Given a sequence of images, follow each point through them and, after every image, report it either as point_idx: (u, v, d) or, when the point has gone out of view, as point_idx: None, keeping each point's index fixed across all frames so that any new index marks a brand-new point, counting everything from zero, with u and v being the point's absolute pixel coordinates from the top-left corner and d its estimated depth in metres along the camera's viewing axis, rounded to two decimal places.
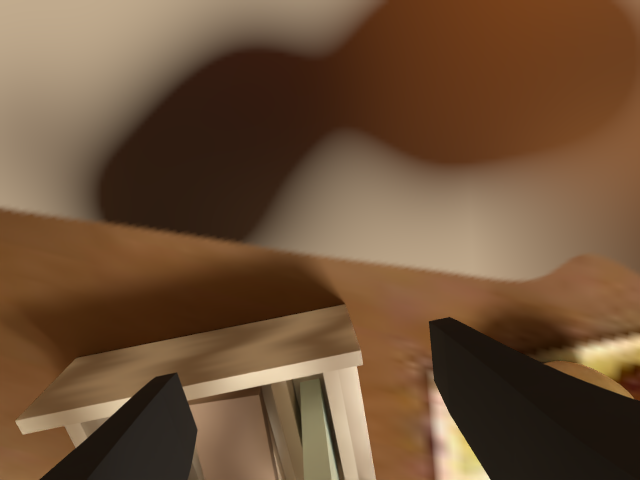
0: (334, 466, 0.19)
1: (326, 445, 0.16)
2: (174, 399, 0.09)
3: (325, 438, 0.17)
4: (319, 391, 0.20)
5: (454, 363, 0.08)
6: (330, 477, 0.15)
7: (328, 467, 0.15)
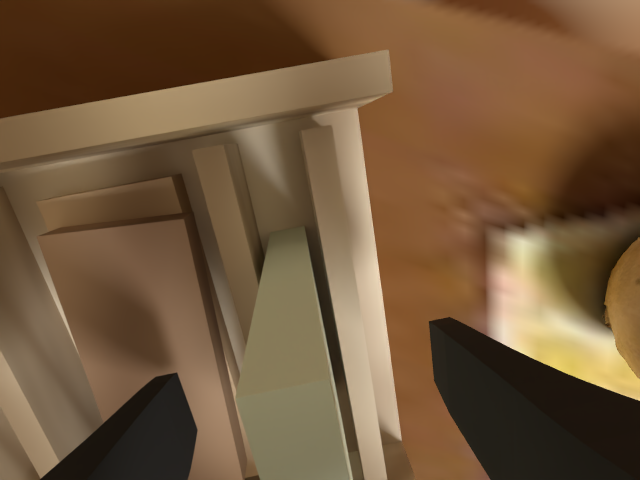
0: None
1: (311, 280, 0.07)
2: (174, 399, 0.09)
3: (309, 272, 0.08)
4: (303, 234, 0.11)
5: (454, 363, 0.08)
6: (317, 317, 0.06)
7: (313, 304, 0.06)
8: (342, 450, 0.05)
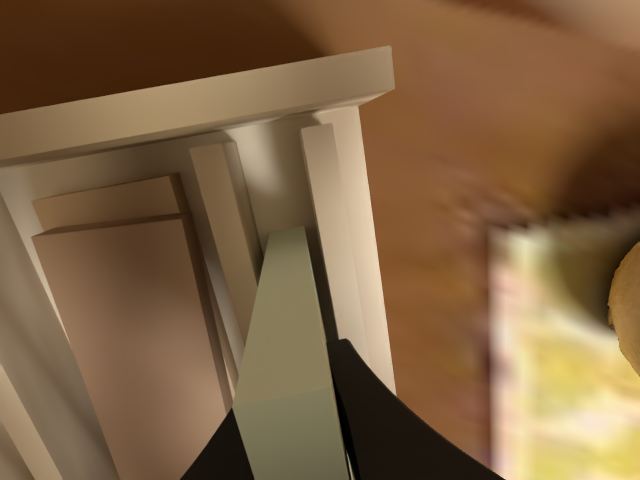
0: None
1: (311, 281, 0.07)
2: None
3: (309, 274, 0.08)
4: (303, 234, 0.11)
5: (334, 388, 0.08)
6: (317, 321, 0.06)
7: (313, 306, 0.06)
8: (343, 460, 0.04)
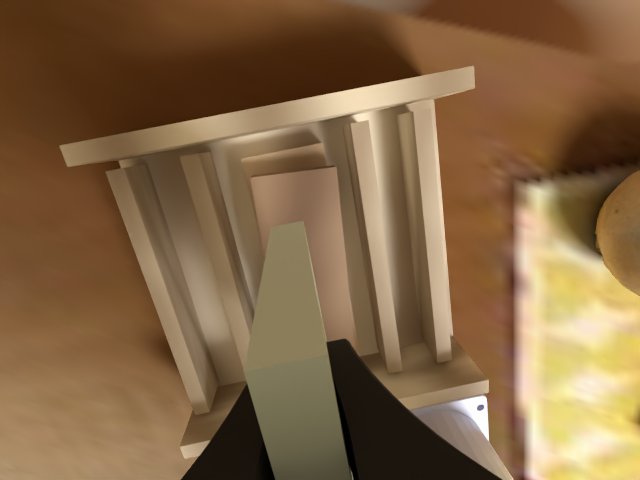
0: None
1: (310, 270, 0.08)
2: None
3: (308, 264, 0.08)
4: (302, 229, 0.11)
5: None
6: (315, 303, 0.06)
7: (312, 291, 0.07)
8: (338, 418, 0.05)
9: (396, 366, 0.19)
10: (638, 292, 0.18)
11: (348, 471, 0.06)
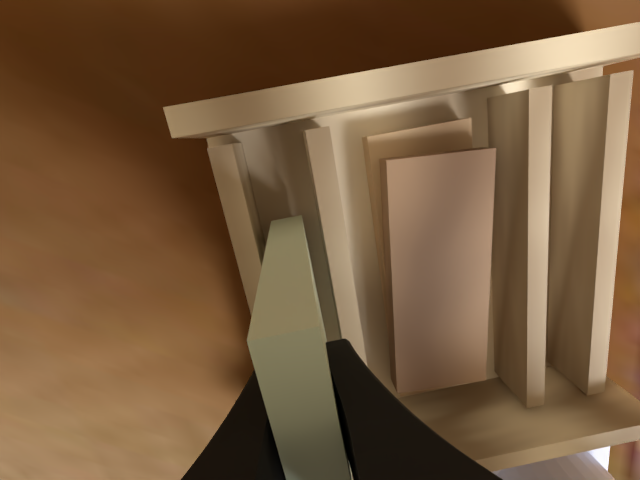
0: None
1: (306, 258, 0.09)
2: None
3: (305, 253, 0.09)
4: (300, 222, 0.12)
5: None
6: (311, 286, 0.07)
7: (308, 276, 0.08)
8: (330, 384, 0.06)
9: (537, 399, 0.15)
10: None
11: (340, 433, 0.06)
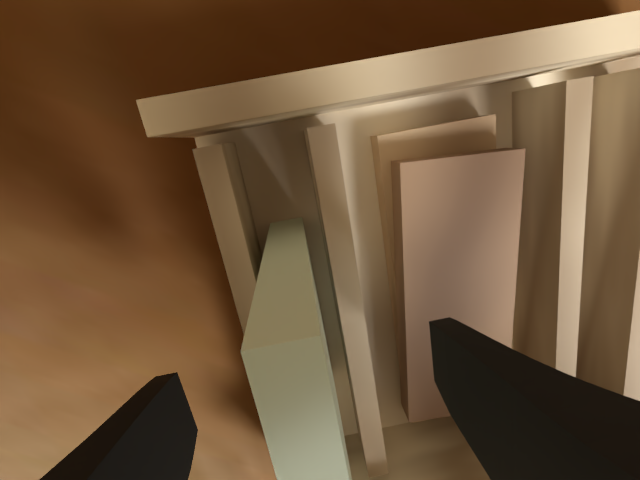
0: None
1: (307, 261, 0.08)
2: (174, 399, 0.09)
3: (306, 256, 0.09)
4: (301, 224, 0.12)
5: (454, 363, 0.08)
6: (311, 291, 0.07)
7: (308, 280, 0.07)
8: (332, 399, 0.05)
9: None
10: None
11: (342, 452, 0.06)
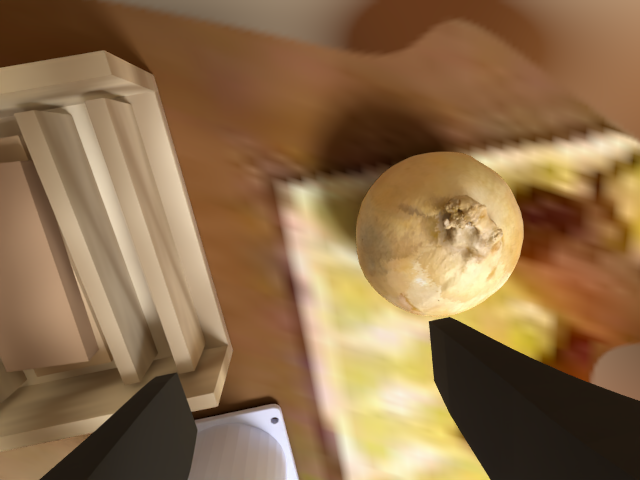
0: None
1: None
2: (174, 399, 0.09)
3: None
4: None
5: (454, 363, 0.08)
6: None
7: None
8: None
9: (131, 377, 0.17)
10: (386, 299, 0.17)
11: None
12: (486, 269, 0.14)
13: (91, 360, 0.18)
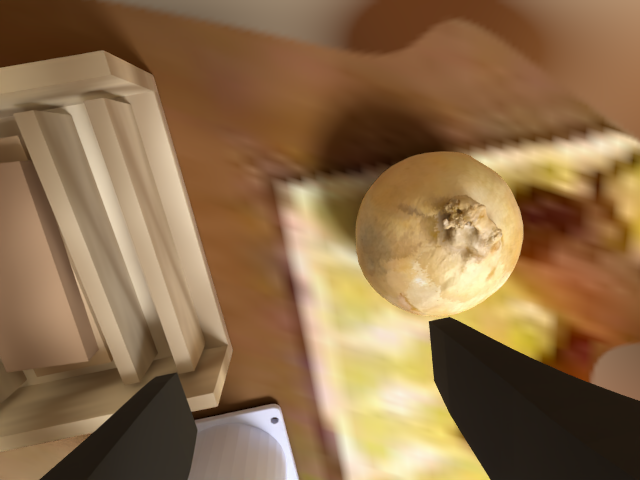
0: None
1: None
2: (174, 399, 0.09)
3: None
4: None
5: (454, 363, 0.08)
6: None
7: None
8: None
9: (131, 377, 0.17)
10: (386, 299, 0.17)
11: None
12: (485, 269, 0.14)
13: (91, 360, 0.18)
